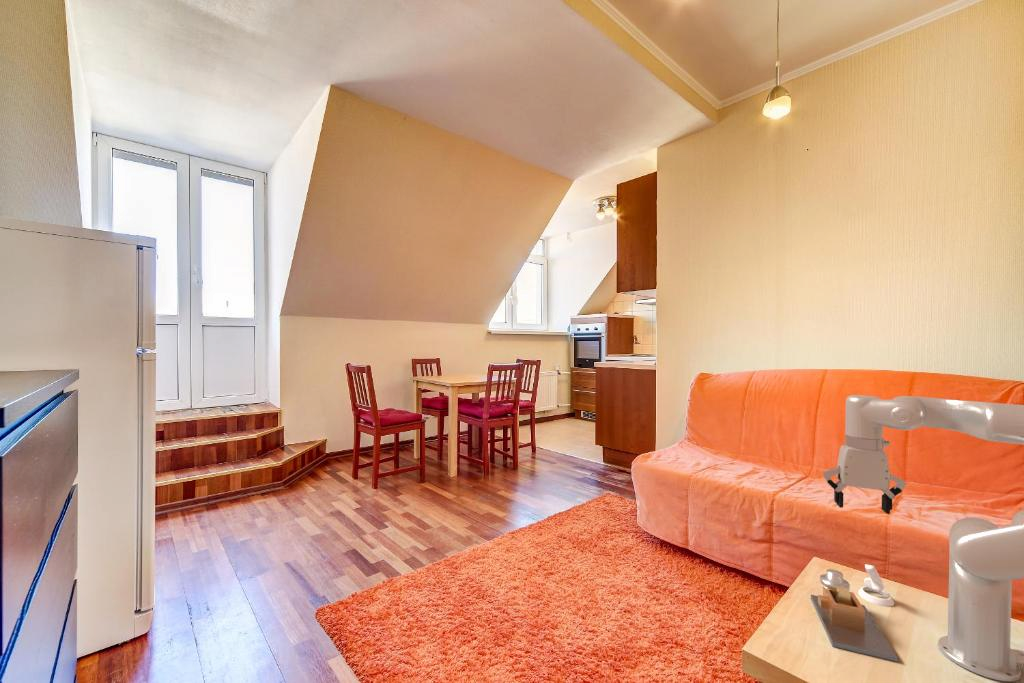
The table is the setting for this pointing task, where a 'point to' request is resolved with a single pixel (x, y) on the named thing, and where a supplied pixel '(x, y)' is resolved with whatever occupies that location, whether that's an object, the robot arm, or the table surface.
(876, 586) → the hook
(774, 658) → the table surface
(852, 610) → the tray with wooden box
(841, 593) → the pale yellow block
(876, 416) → the robot arm
